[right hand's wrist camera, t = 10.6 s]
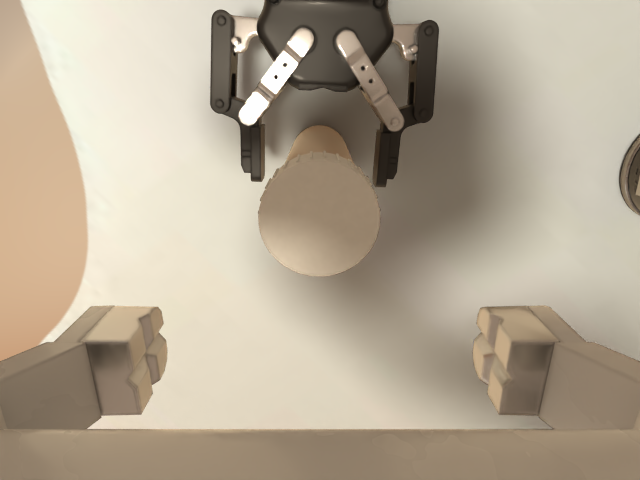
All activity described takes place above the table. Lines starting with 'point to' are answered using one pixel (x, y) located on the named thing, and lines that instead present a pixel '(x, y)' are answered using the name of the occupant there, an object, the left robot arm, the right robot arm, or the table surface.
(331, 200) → the lid
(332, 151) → the tan tall cylinder
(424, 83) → the left robot arm
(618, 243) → the table surface
